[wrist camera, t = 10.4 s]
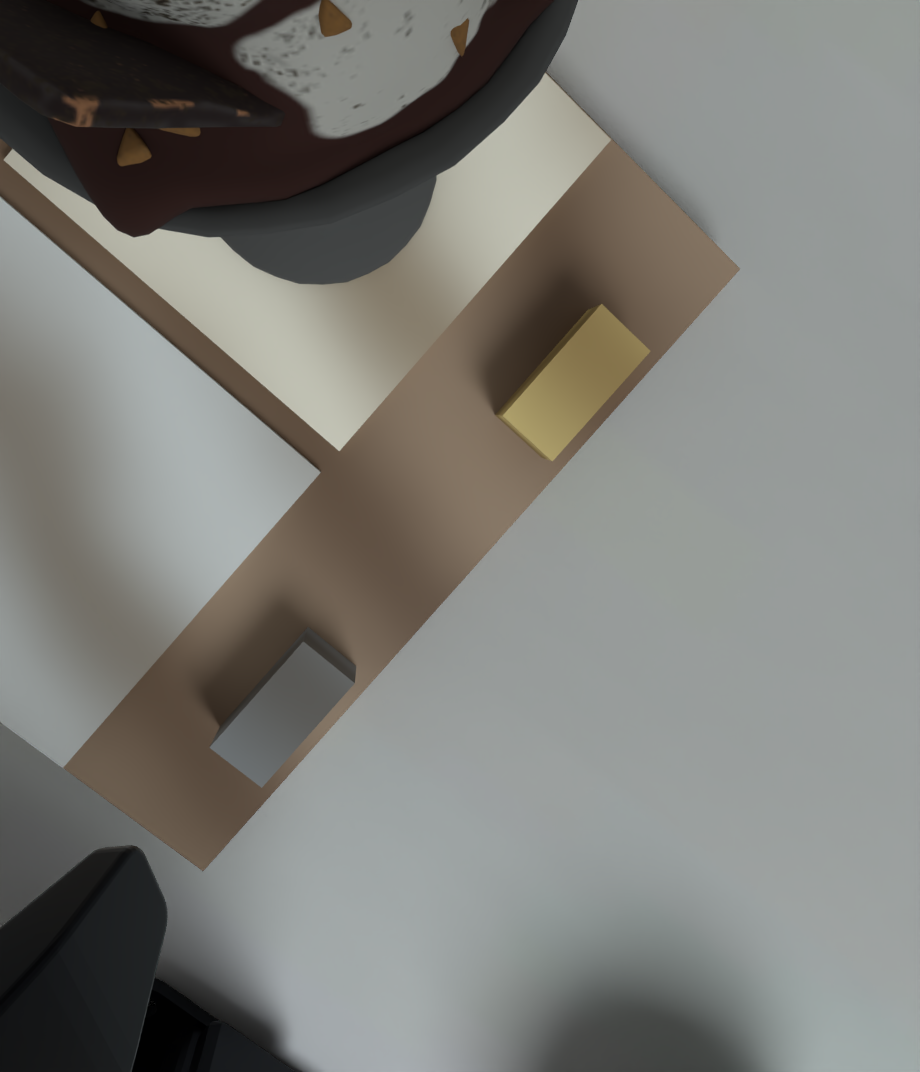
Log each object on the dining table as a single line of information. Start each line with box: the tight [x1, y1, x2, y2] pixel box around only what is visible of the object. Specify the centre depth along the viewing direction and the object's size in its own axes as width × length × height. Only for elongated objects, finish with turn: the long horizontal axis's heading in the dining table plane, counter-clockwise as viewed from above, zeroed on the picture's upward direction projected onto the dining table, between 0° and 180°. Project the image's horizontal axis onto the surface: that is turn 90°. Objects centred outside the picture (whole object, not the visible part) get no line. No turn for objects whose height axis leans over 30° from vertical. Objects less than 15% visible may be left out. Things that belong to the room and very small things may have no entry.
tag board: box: [0, 72, 740, 871], centre depth 18 cm, size 18×14×2 cm
